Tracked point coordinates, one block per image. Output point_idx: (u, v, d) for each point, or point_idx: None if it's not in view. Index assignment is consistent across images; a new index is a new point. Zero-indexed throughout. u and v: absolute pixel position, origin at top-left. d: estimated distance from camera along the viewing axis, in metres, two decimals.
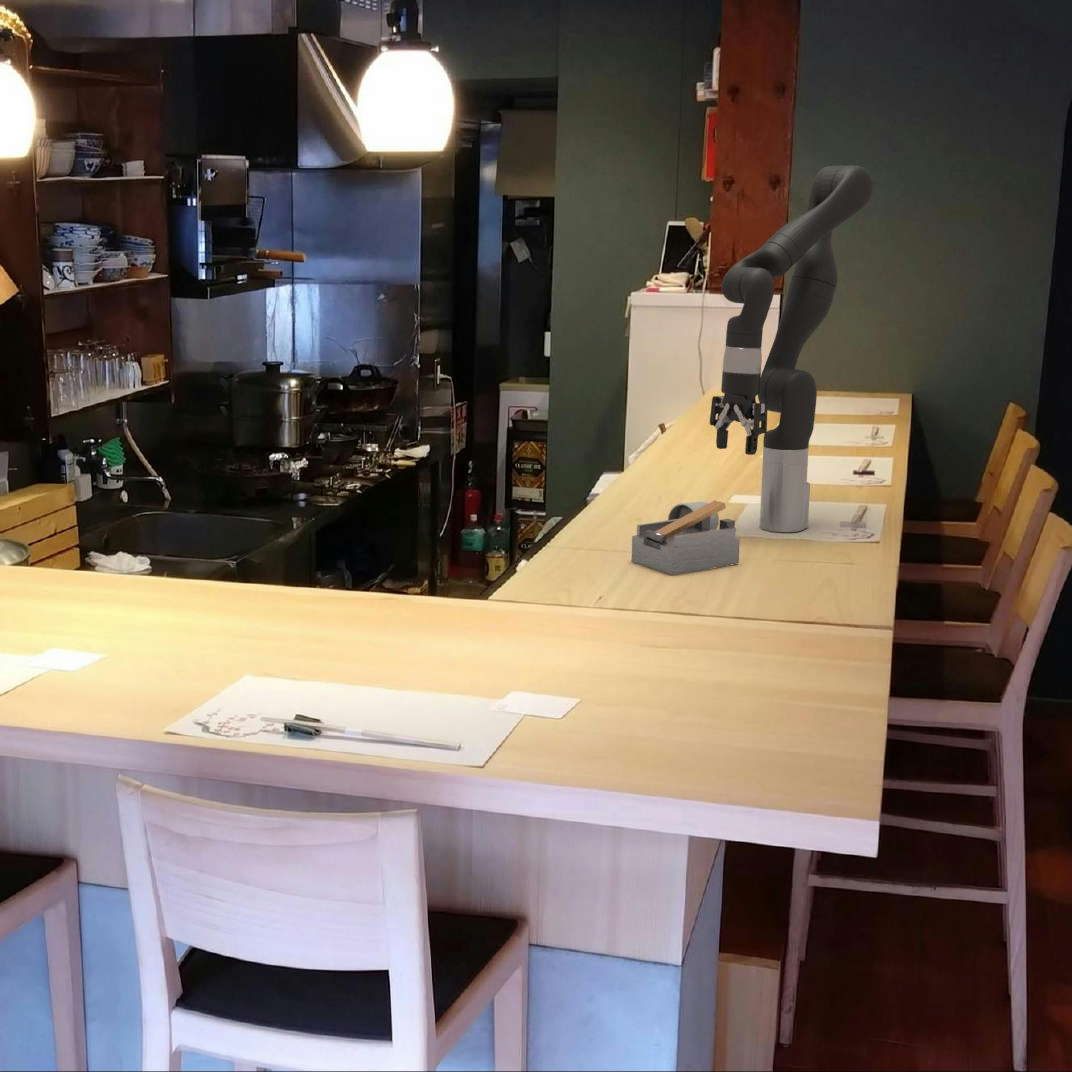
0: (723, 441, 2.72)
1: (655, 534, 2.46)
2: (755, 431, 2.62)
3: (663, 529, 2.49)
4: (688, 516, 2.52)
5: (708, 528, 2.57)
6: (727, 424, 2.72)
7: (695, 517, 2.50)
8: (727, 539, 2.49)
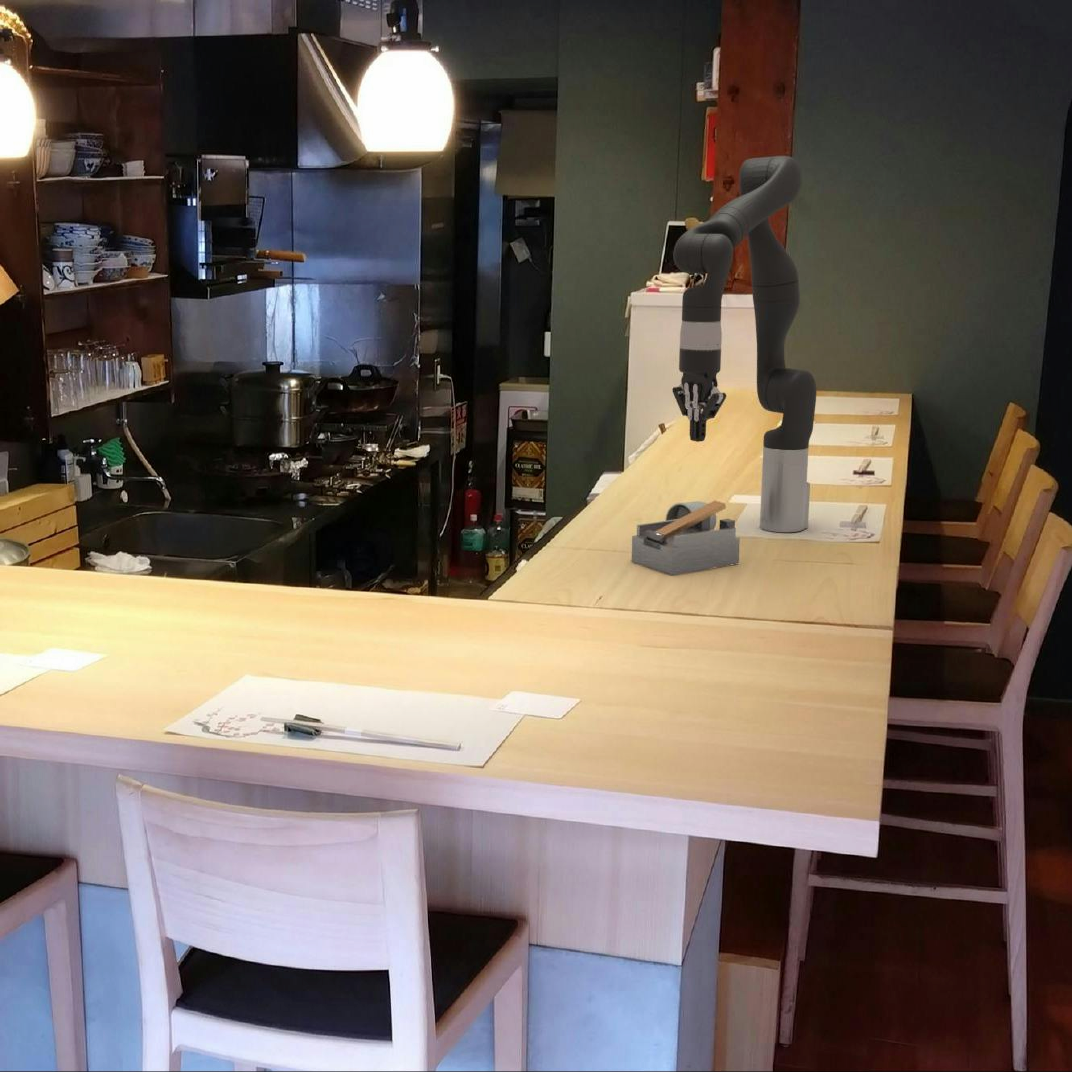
0: None
1: (655, 534, 2.46)
2: (702, 416, 2.44)
3: (663, 529, 2.49)
4: (688, 516, 2.52)
5: (708, 528, 2.57)
6: None
7: (695, 517, 2.50)
8: (727, 539, 2.49)
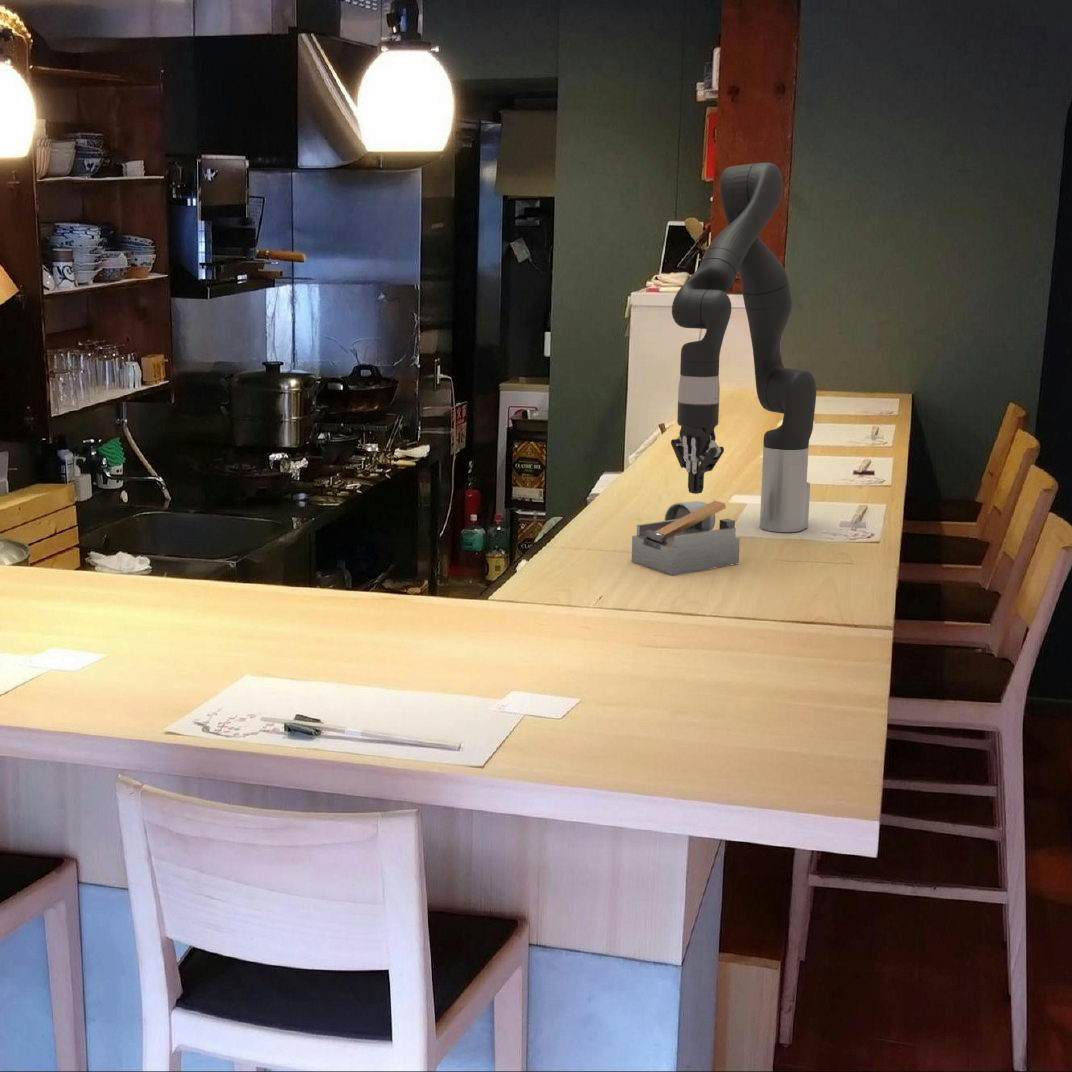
0: None
1: (655, 534, 2.46)
2: (700, 469, 2.47)
3: (663, 529, 2.49)
4: (688, 516, 2.52)
5: (708, 528, 2.57)
6: None
7: (695, 517, 2.50)
8: (727, 539, 2.49)
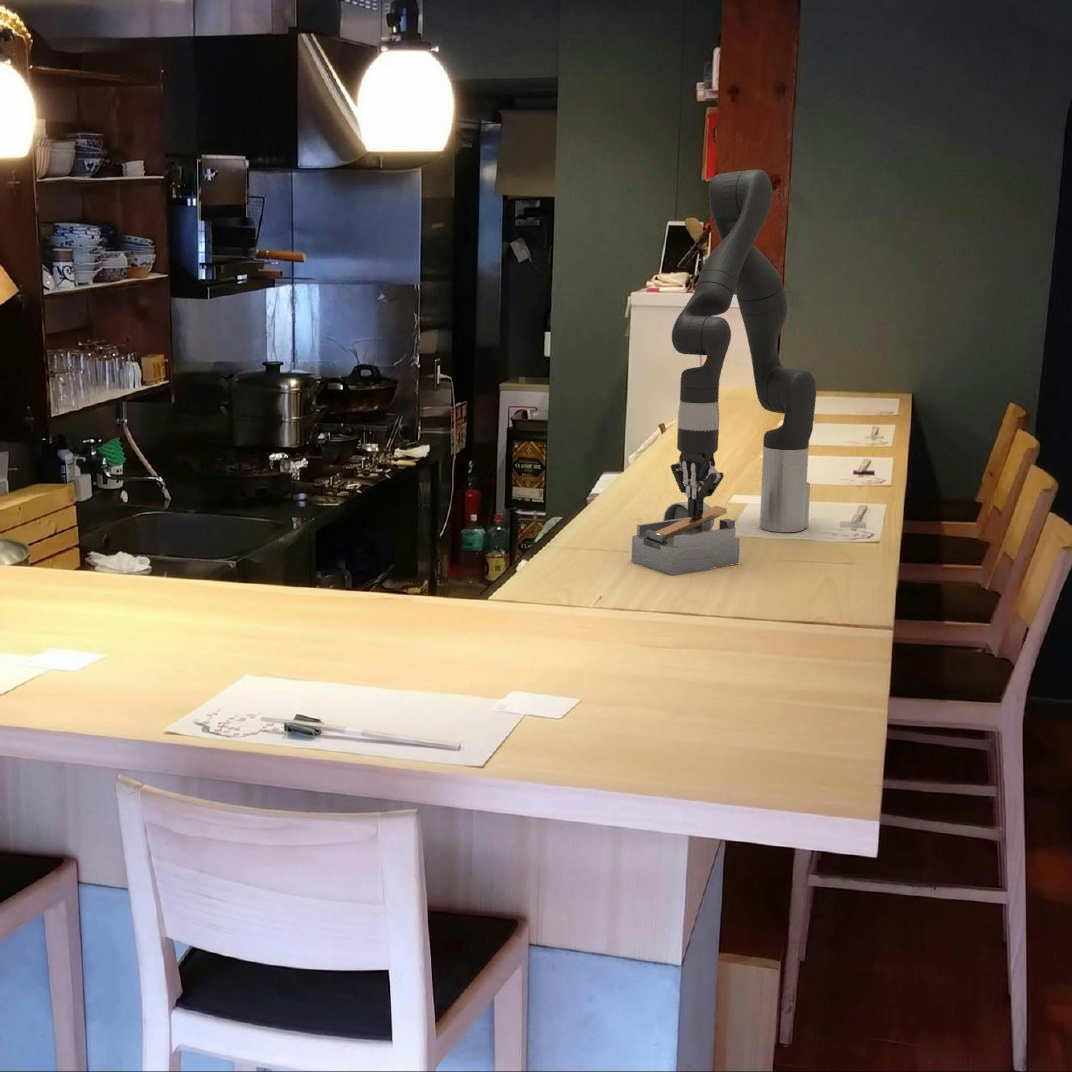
0: None
1: (655, 534, 2.46)
2: (700, 495, 2.48)
3: (663, 530, 2.49)
4: (689, 519, 2.52)
5: (708, 528, 2.57)
6: None
7: (696, 520, 2.51)
8: (727, 539, 2.49)
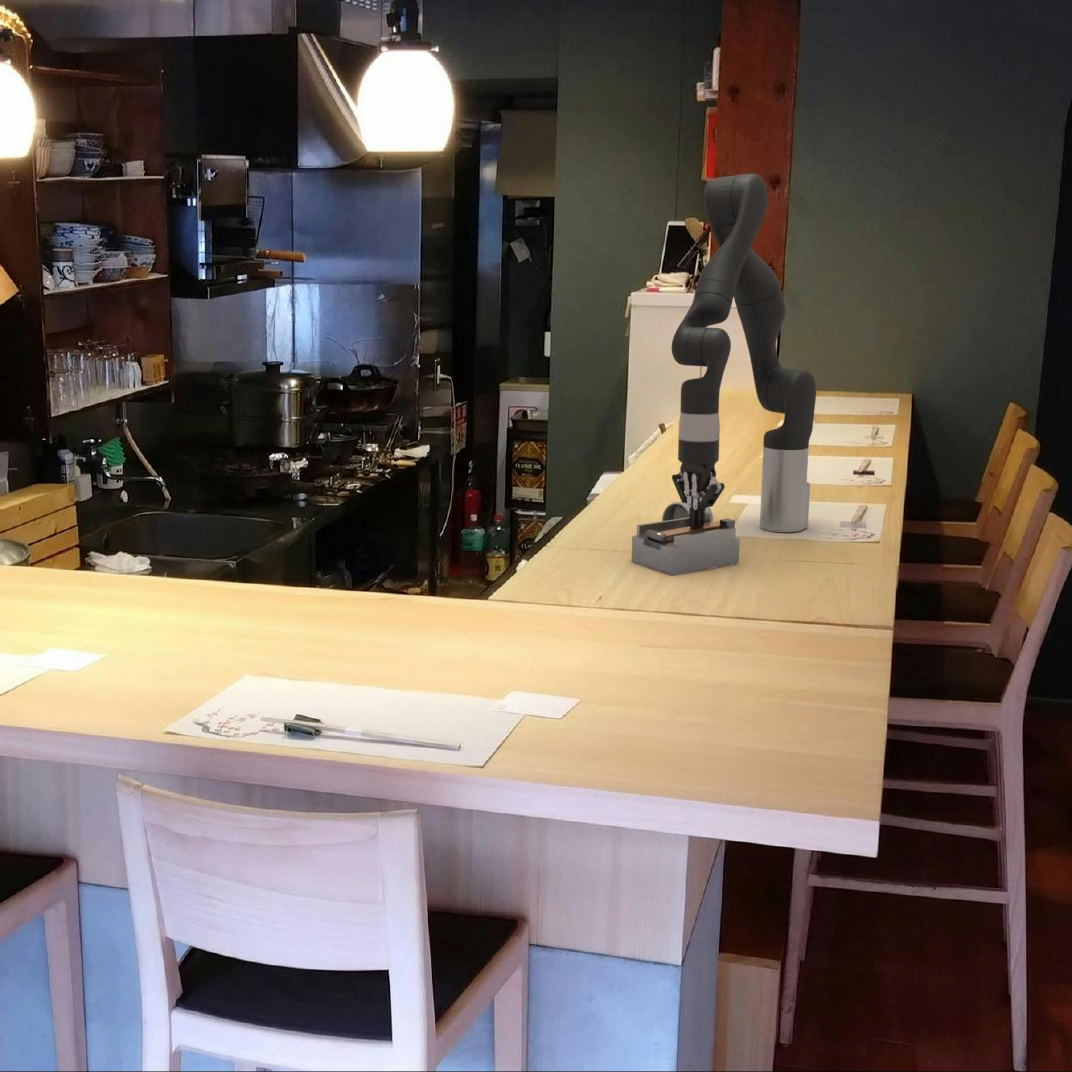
0: None
1: (657, 533, 2.46)
2: (701, 505, 2.48)
3: (664, 532, 2.49)
4: None
5: None
6: None
7: (697, 529, 2.51)
8: (727, 539, 2.49)
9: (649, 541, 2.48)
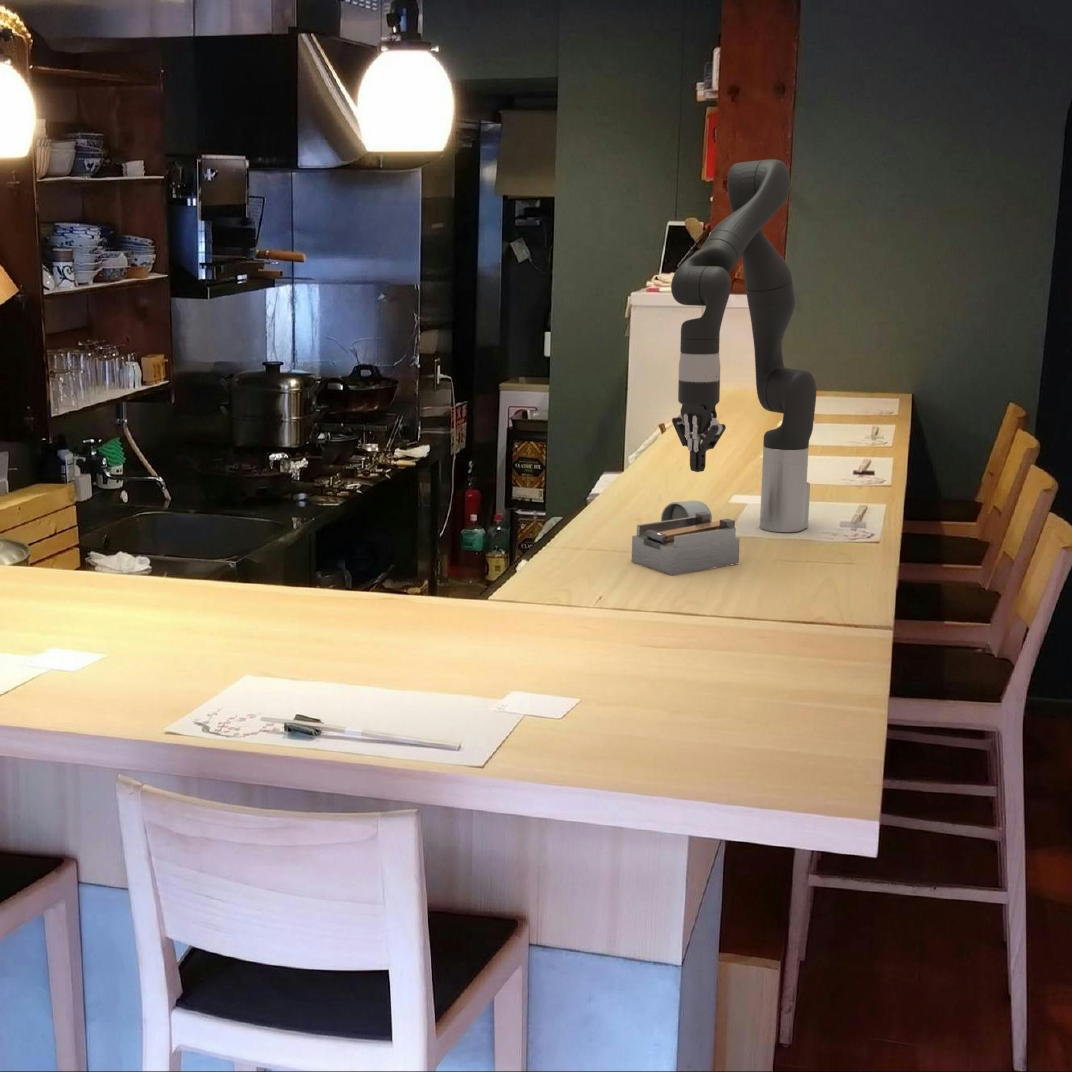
0: None
1: (657, 533, 2.46)
2: (702, 447, 2.45)
3: (664, 532, 2.49)
4: (691, 527, 2.52)
5: None
6: None
7: (697, 529, 2.51)
8: (727, 539, 2.49)
9: (649, 541, 2.48)
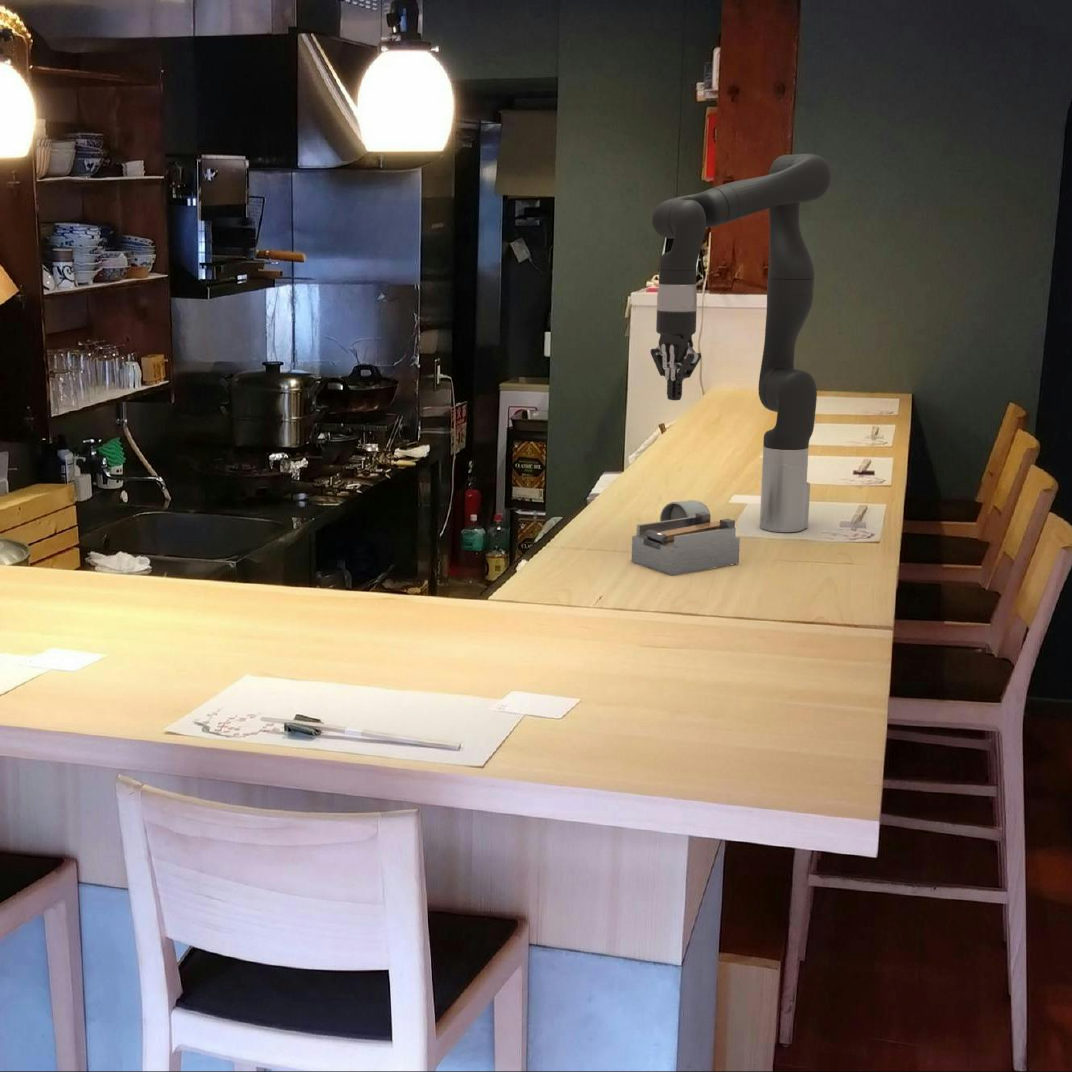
0: None
1: (657, 533, 2.46)
2: (678, 376, 2.55)
3: (664, 532, 2.49)
4: (691, 527, 2.52)
5: None
6: None
7: (697, 529, 2.51)
8: (727, 539, 2.49)
9: (649, 541, 2.48)
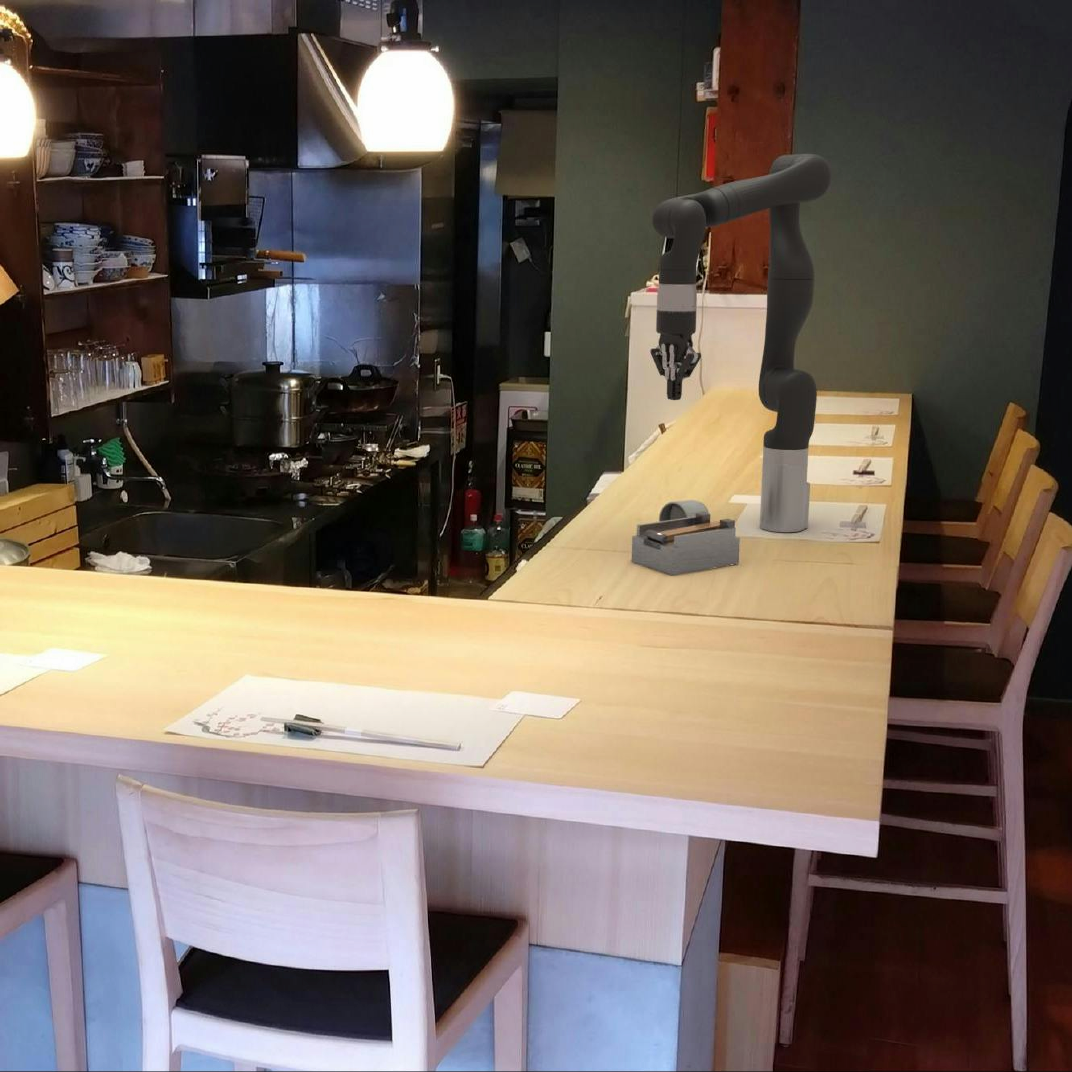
0: None
1: (657, 533, 2.46)
2: (678, 375, 2.55)
3: (664, 532, 2.49)
4: (691, 527, 2.52)
5: None
6: None
7: (697, 529, 2.51)
8: (727, 539, 2.49)
9: (649, 541, 2.48)
